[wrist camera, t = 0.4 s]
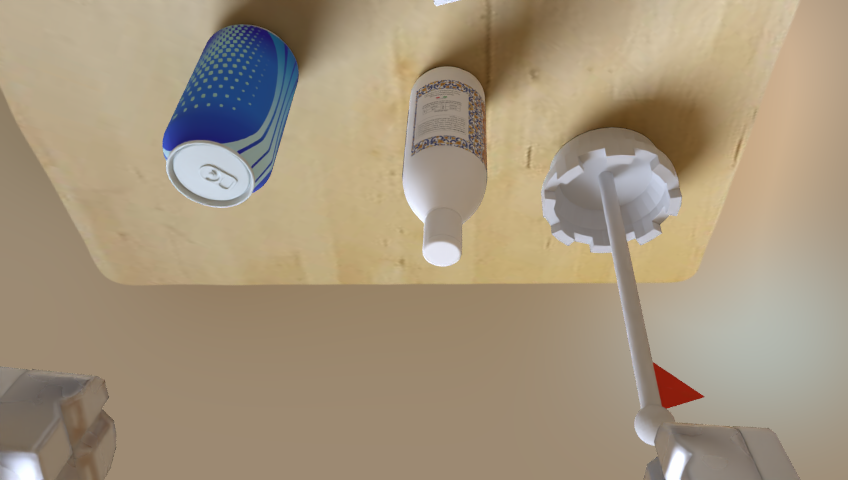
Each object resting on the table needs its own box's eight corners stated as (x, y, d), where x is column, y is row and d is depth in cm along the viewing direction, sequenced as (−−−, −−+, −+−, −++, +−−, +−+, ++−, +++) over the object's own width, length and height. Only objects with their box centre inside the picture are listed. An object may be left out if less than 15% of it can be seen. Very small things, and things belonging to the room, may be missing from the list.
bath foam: (465, 134, 69) (465, 293, 56) (399, 111, 68) (382, 269, 54) (497, 79, 65) (505, 238, 51) (427, 52, 63) (415, 209, 49)
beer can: (230, 103, 68) (184, 222, 57) (191, 25, 62) (132, 140, 51) (313, 90, 66) (282, 209, 55) (282, 8, 61) (240, 124, 50)
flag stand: (518, 197, 75) (536, 464, 55) (577, 102, 66) (625, 378, 45) (627, 229, 78) (683, 494, 57) (697, 141, 69) (795, 420, 48)
